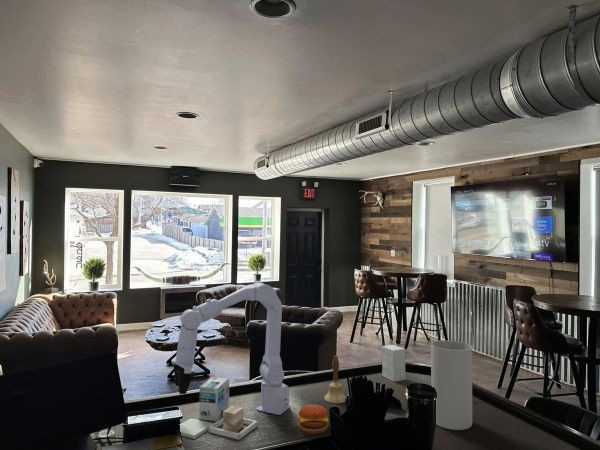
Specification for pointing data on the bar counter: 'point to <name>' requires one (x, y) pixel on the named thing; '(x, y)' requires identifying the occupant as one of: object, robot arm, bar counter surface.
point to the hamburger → (313, 419)
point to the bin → (230, 434)
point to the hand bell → (335, 386)
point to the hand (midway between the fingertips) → (180, 389)
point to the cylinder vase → (452, 383)
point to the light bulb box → (214, 398)
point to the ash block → (233, 419)
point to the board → (194, 428)
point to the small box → (393, 363)
